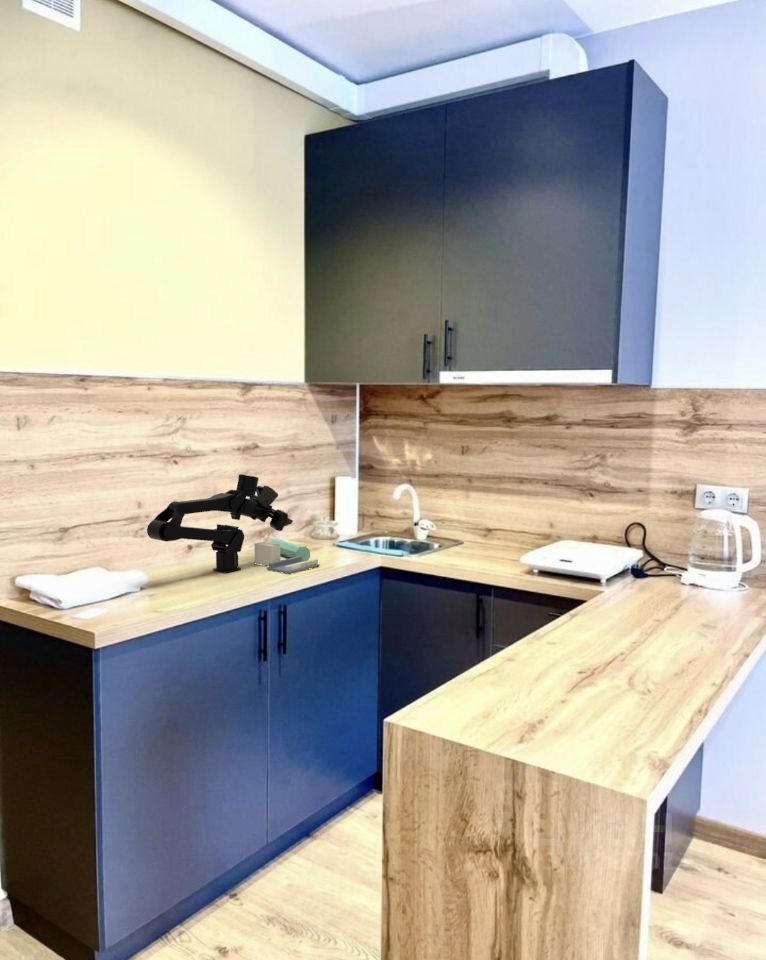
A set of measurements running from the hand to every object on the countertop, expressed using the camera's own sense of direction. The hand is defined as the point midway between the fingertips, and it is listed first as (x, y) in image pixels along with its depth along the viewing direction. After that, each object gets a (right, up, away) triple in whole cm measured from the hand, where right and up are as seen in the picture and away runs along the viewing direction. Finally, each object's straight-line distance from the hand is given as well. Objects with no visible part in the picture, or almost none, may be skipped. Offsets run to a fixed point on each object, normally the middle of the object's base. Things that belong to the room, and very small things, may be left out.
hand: (284, 517), depth 259 cm
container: (0, -14, +6) cm, 15 cm away
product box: (-4, -15, -9) cm, 18 cm away
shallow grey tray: (+5, -16, -15) cm, 22 cm away
